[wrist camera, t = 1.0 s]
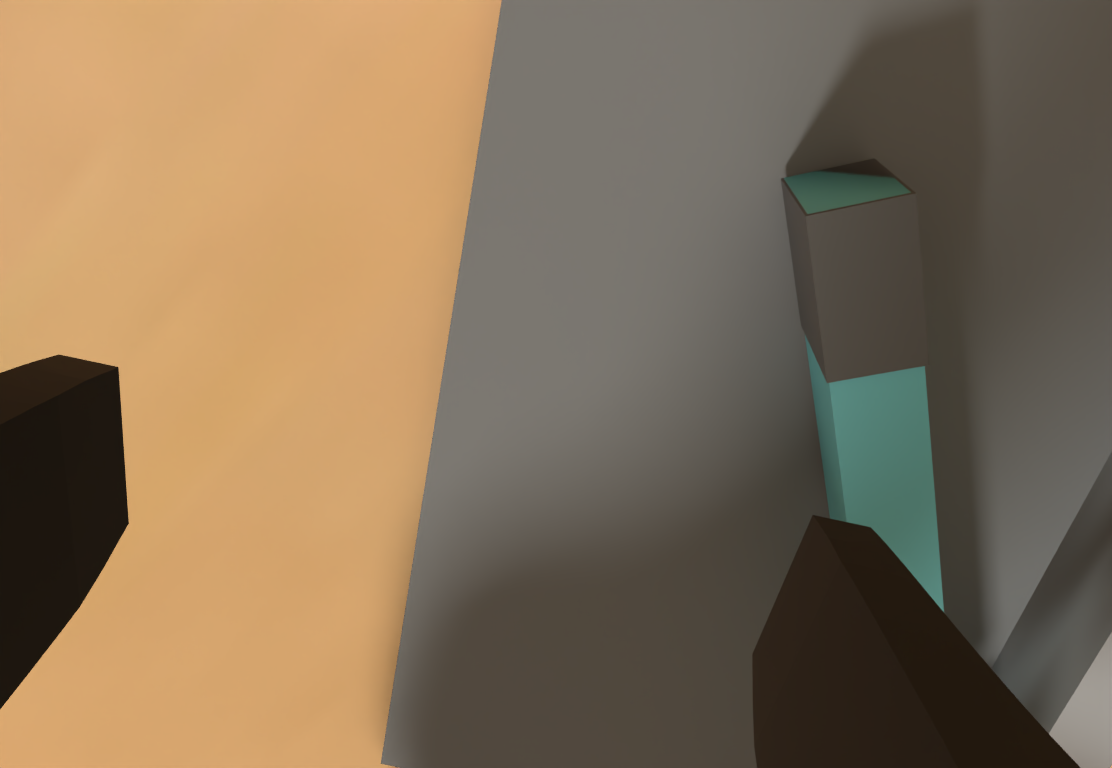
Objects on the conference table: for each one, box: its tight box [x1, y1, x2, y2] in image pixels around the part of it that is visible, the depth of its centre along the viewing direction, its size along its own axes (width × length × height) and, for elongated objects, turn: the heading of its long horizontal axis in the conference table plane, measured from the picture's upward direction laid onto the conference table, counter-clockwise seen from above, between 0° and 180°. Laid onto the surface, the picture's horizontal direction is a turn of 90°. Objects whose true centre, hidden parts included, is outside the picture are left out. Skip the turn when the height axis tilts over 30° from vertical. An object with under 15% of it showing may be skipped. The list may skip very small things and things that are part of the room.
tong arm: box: [781, 158, 944, 612], centre depth 18 cm, size 14×2×3 cm, turn 14°
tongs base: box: [991, 452, 1112, 768], centre depth 19 cm, size 19×4×4 cm, turn 169°
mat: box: [381, 0, 1112, 768], centre depth 20 cm, size 22×18×1 cm
